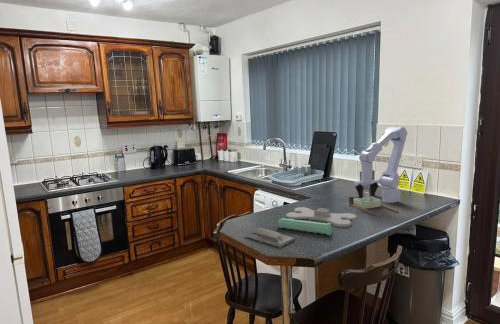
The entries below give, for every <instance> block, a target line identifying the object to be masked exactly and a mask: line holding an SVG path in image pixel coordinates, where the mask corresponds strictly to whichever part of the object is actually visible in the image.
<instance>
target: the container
mask: <svg viewBox="0 0 500 324" xmlns="http://www.w3.org/2000/svg"><path fill="white" fill-rule="evenodd" d="M277 225H278V228H280V227H282V228H281V229H283V228H288V229H287V230H289V229H294V230H293V231H296V230H300V231H299V232H303V231H307V232H306V233H310V232H313V233H312V234H317V233H320V234H319V235H324V234H326V236H327V235H329V236H331V235H332V231H333V229H332V228H333V227H332V226H333V225H331V223H326V222H320V221H312V220H294V219H287V218H286V217H285V218H284V217H283V218H282V217H281V218H279V220H278V222H277Z"/></svg>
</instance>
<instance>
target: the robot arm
mask: <svg viewBox="0 0 500 324" xmlns="http://www.w3.org/2000/svg"><path fill="white" fill-rule="evenodd" d="M407 135H408V130H407V129H406V127H404V126H401V127H400V126H389V127H387V128H386V129H385V130H384V134H383V135H381V137H380V139H378V141H377V142H373V143H371V145H370V146H369V147H368V148H367V149H366V150H365V151H363V152H361V153H360V154H359V156H358V159H359V161H360V165H361V171H362V178H361V181H360V180H358V181H354V187H355V189H356V190H357V196H359V198H362V197H363V189H364V187H362V185H368V184H370V189H371V196H372V197H374V198H375V196H376V192H377V190H378V188H379V187H380V186H381V202H383V203H387V204H393V203H398V202H399V203H401V204H402V202H401V190H400V188H399V187H398V186H399V185H400V175H399V174H398V168H399V164H400V161H401V158H402V153H403V151H404V147H405V144H406V139H407ZM389 141H391V142H392V144H393V147H392V150H391V154H390V157H389V161H388V164H387V168H386V170H384V171H383V172H382V173H381V175H380V177H379V179H374V180H372V171H373V170H374V169H373V167H374V166H373V164H374V163H373V162H375V160H376V157H377V155H378V154H379V153H380V152H381V151H382V150H383V146H384V145H386V144H387V143H388V142H389Z"/></svg>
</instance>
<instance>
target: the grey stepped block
mask: <svg viewBox="0 0 500 324" xmlns="http://www.w3.org/2000/svg"><path fill="white" fill-rule="evenodd" d="M253 230H254V231H253ZM253 230H252V231H253V232H252V233H251V234H254V235H257V236H259V237H262V239H264V240H267V241H271V242H273V243H276V244H280V245H281V244H283V243H286V242H288V241H291V240H293V239H295V237H293V236H292V237H291V236H288V235H285V234H282V233H280V232H278V231H275V230H274V231H273V230H271V229H267V228H263V227H257V228H255V229H253Z"/></svg>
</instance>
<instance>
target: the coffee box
mask: <svg viewBox="0 0 500 324" xmlns="http://www.w3.org/2000/svg"><path fill="white" fill-rule="evenodd" d="M361 178H362V170H361V171H359V181H361ZM372 180H375V170H374V169H373V171H372ZM362 187H364V189H363V195H365V192H369V194H371V189H370V184H368V185H362Z"/></svg>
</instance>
